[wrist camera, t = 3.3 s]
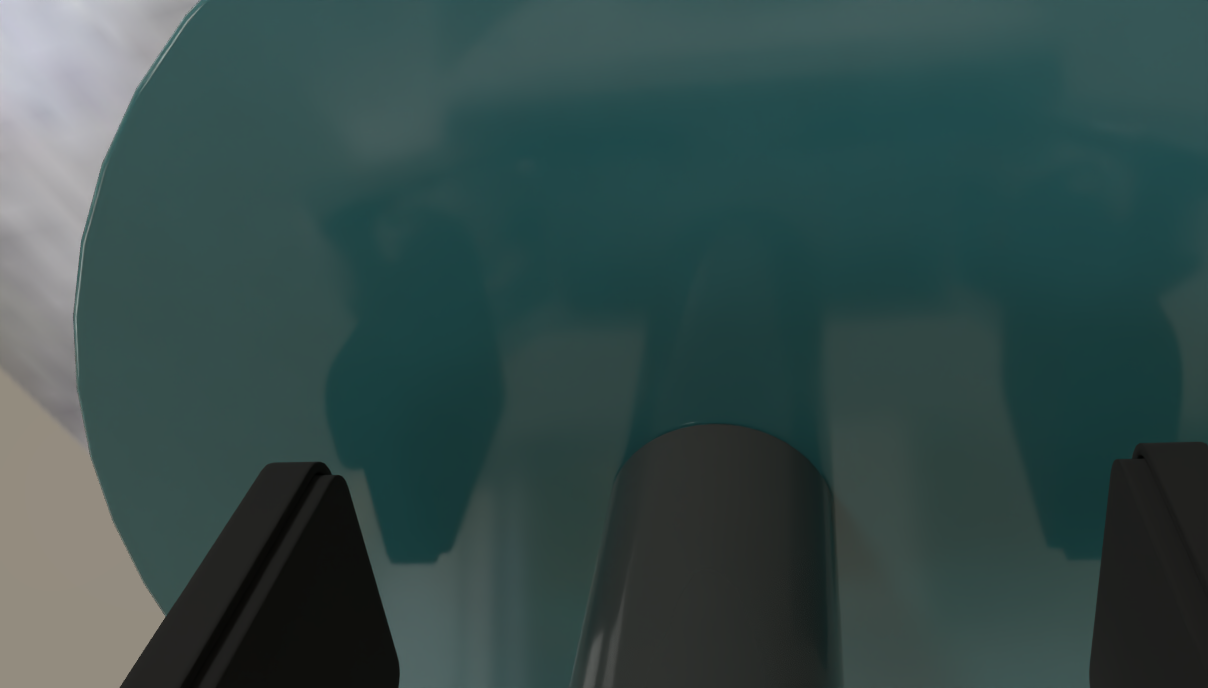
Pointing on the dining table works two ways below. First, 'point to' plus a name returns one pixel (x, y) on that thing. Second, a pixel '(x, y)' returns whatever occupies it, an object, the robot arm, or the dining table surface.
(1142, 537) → the robot arm
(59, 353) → the dining table surface
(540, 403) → the lid
